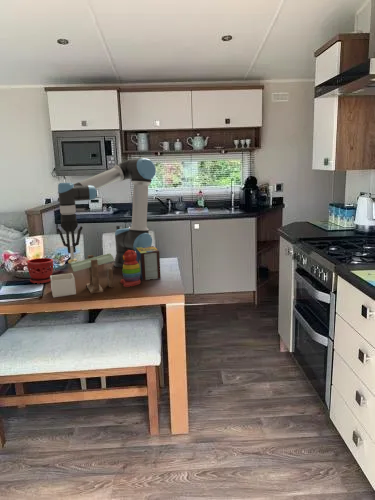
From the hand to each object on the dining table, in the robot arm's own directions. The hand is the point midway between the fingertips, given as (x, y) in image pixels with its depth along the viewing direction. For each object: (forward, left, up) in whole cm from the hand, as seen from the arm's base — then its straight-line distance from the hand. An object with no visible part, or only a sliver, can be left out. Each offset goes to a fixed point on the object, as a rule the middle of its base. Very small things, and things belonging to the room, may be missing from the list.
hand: (72, 258), depth 196 cm
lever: (-8, +7, -2) cm, 11 cm away
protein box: (-39, +3, -14) cm, 42 cm away
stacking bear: (-27, +12, -14) cm, 33 cm away
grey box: (+7, +12, -14) cm, 19 cm away
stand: (-12, +12, -14) cm, 22 cm away
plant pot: (+16, -14, -14) cm, 25 cm away
